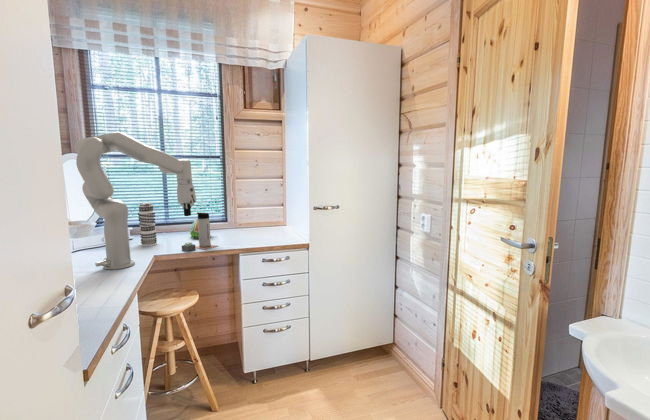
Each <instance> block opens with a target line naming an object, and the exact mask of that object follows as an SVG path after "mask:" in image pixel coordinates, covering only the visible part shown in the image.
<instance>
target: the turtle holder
mask: <svg viewBox="0 0 650 420" xmlns="http://www.w3.org/2000/svg"><path fill="white" fill-rule="evenodd" d="M189 228H190V229H189V234H190V238H192V239H193V240H196V237H197V238H199V232H198V218H196V219H194V221H193V222H192V223H191V225H190V227H189Z"/></svg>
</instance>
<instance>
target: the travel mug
mask: <svg viewBox="0 0 650 420" xmlns="http://www.w3.org/2000/svg"><path fill="white" fill-rule="evenodd" d="M196 215H197V219H198V232H199V237H198V243H199V244H198V246H199V247H201V248H206V247H210V246H211V245H212V241H211V225H210V224H211V223H210V222H211V221H210V213H208V212H196Z"/></svg>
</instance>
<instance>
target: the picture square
mask: <svg viewBox="0 0 650 420" xmlns="http://www.w3.org/2000/svg"><path fill="white" fill-rule="evenodd" d="M217 247H218V245H217V244H216V245H215V244H211V246H210V247H206V248H201V247H199V245H197V246H195V249H197V250H204V251H206V250H210V249H213V248H217Z"/></svg>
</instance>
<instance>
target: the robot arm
mask: <svg viewBox="0 0 650 420" xmlns="http://www.w3.org/2000/svg"><path fill="white" fill-rule="evenodd" d="M74 150H75V152H76V154H77V155H76V158H75V159H76V163H75V164H76V167H77V170H78V173H79V174H80V176H81V178H82V181H83V184H82V188H81V189H82V193H83V195H84V196H85V199H86V200H87V201H88V203H89V205H90V206H91V208H92V209H93V211H94V212H95V213H96V214H97V215H98V216H99V217H100V218H103V219H104V222H103V234H104V242H105V243H104V246H105V254H106V257H105V258H104V259H103V260H102V261H97V262H95V264H94V265H95V267H96V268H98V267H101V266H102V267H103V269H104V270H108V271H109V270H111V271H112V270H121V269H122V270H123V269H125V268H130V267H132V266H134V265H135V264H136V262H135V260H133V259H131V252H130V251H131V249H130V239H129V236H130V235H129V227H128V221H129V220H128V218H129V209H128V206H127V204H126V203H125V202H124V201H122V200H120V199H117V198H116V199H114V197H113V194H114V192H115V191H114V190H115V189H114V186H113V184H112V183H111V181H110V179H109V178H108V176H107V174H106V173H105V170H104V169H103V167H102V164H101V158H102V155H103V154H107V153H111V152H115V151H116V152H119V153H122V154H123V155H126V156H128V157H131V158H132V159H135V160H136V161H139V162H140V163H141V162H142V163H144V164H150V165H155V166H157V167H158V169H159V171H160V172H162V173H163V174H165V175H171V174H172V175H176V182H177V184H176V185H177V188H176V198H177V202H178V203H179V205H180V206H182V209H183V215H184V217H190V216H192V211H191V208H192V206H195V203H196V202H197V196H196V190H195V187H194V184H193V176H192V175H193V174H192V163H191V162H192V161H191V160H190V159H189V158H188V159H182V158H181V159H179V158H176V157H175V156H173V155H171V154H168V153H166V152H165V151H162V150H159V149H157V148H154V147H152V146H149V145H147V144H145V143H143V142H141V141H140V140H137V139H135V138H133V137H131V136H130V135H128V134H126V133H124V132H120V131H114V132H109V133H108V132H107V133H103V134H100V135H94V136H90V137H89V136H88V137H85V138H80V139H78V140H77V141H76V142H75V143H74Z"/></svg>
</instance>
